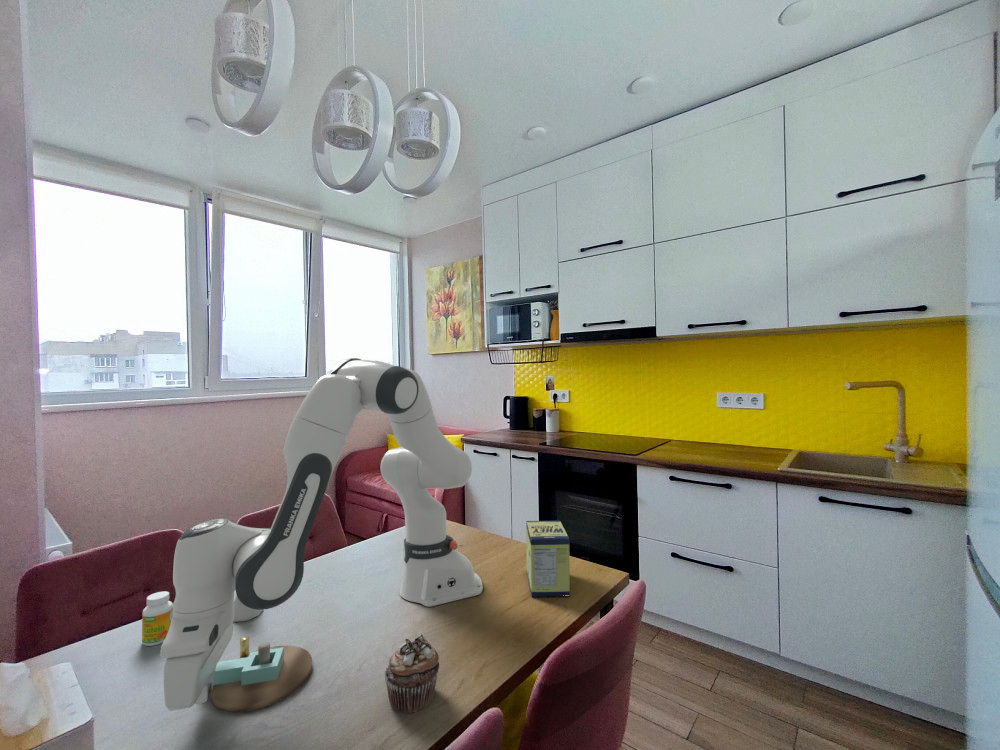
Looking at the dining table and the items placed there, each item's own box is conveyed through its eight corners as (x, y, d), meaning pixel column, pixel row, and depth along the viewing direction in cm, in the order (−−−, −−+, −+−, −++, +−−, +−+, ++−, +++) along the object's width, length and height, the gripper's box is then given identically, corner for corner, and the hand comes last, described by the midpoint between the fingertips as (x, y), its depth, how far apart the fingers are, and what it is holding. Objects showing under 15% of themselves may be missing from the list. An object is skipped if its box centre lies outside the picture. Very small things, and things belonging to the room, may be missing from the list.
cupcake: (421, 671, 85) (421, 620, 86) (449, 698, 78) (448, 642, 78) (375, 695, 79) (375, 639, 79) (401, 726, 72) (400, 665, 72)
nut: (283, 659, 87) (283, 647, 87) (277, 679, 82) (277, 665, 82) (209, 671, 84) (209, 658, 84) (197, 693, 78) (197, 679, 78)
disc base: (317, 645, 94) (317, 616, 94) (304, 700, 78) (305, 665, 78) (228, 659, 90) (228, 629, 90) (195, 721, 73) (195, 683, 73)
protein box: (560, 571, 130) (560, 519, 130) (570, 597, 115) (570, 538, 115) (525, 572, 130) (525, 520, 130) (531, 598, 114) (530, 538, 115)
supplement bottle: (138, 649, 93) (139, 603, 93) (145, 636, 98) (145, 593, 98) (170, 642, 96) (170, 597, 96) (175, 630, 100) (175, 587, 101)
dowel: (250, 655, 89) (250, 635, 89) (247, 660, 87) (248, 640, 87) (241, 656, 88) (241, 636, 89) (239, 661, 87) (239, 641, 87)
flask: (247, 624, 103) (247, 581, 103) (221, 621, 104) (221, 579, 104) (269, 608, 110) (269, 568, 110) (244, 606, 111) (244, 566, 111)
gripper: (205, 592, 85) (205, 663, 84) (154, 655, 65) (153, 749, 65) (242, 587, 86) (241, 658, 86) (203, 647, 67) (202, 739, 66)
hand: (203, 697), depth 75 cm, fingers closed
